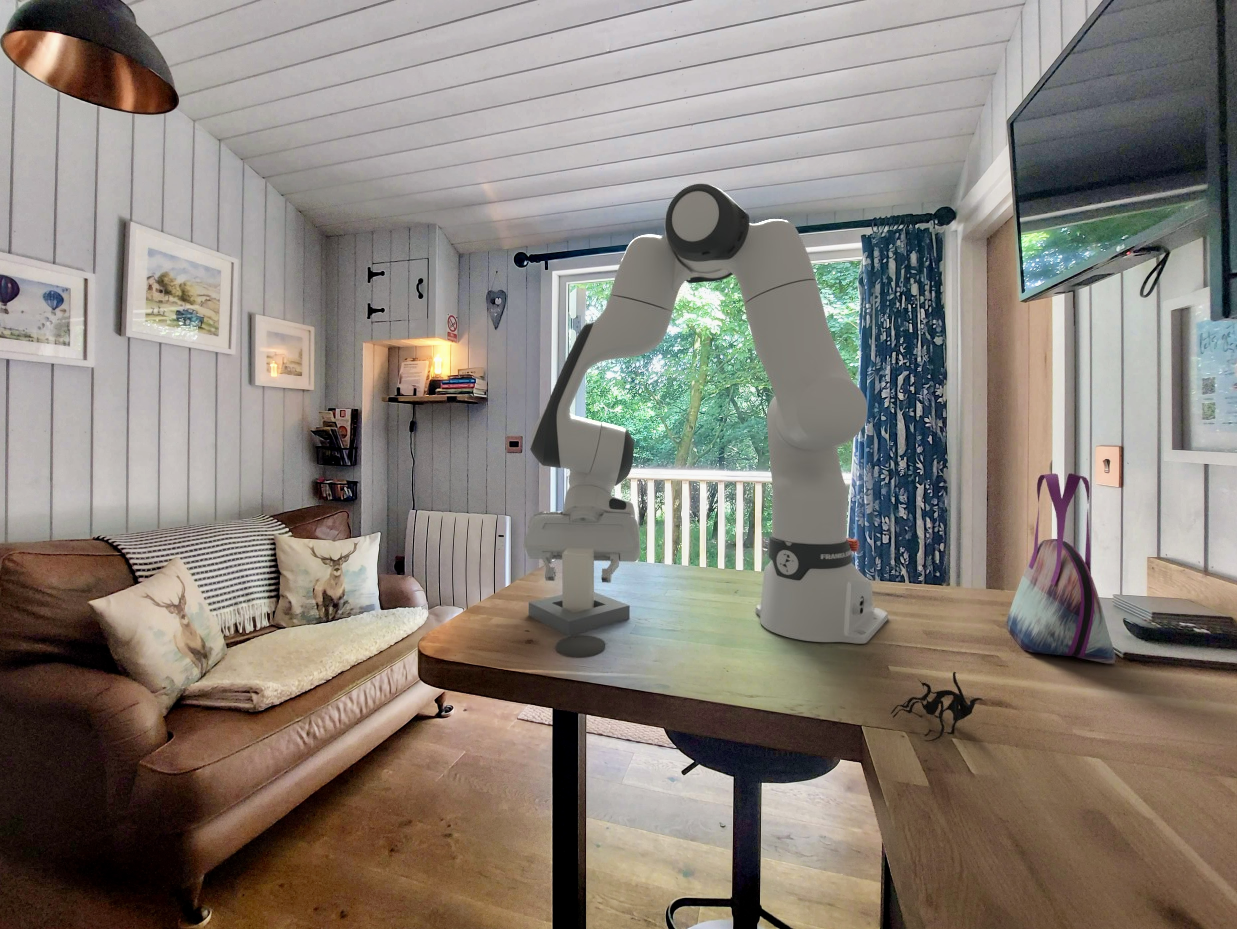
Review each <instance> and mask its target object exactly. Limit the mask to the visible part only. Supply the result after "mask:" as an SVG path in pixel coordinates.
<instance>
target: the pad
mask: <svg viewBox="0 0 1237 929" xmlns="http://www.w3.org/2000/svg"><path fill="white" fill-rule="evenodd" d="M555 644H556V645H555V650H556V652H557V653H559V654H560V655H562V656H564V657H565V656H566V657H570V658H587V657H593V656H596V655H599V654H601V653H602V652H604V651H605V649H606V642H605V641H604V640H603V639H602V638H600V637H596V636H593V635H584V634H583V635H571V636H567V637H565V638H562V639H560V640H558V642H557V643H555Z"/></svg>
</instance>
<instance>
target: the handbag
mask: <svg viewBox="0 0 1237 929" xmlns="http://www.w3.org/2000/svg"><path fill="white" fill-rule="evenodd" d="M1044 480H1045V482H1046V486H1047V489H1048V493H1049V496H1050V499H1051V502H1052V504H1053V509H1054V511H1055V518H1056V538H1050V539H1044V540H1042V541H1040V542H1039V526H1040V524H1039V518H1040V506H1038V510H1037V518H1036V527H1035V534H1034V540H1033V541H1034V543H1033V545H1034V546H1033V552H1032V554H1031V556H1030V558H1029V560H1028V563H1027V564H1026V567H1025V569H1024V572H1023V574H1022V577H1021V579H1020V582H1019V585H1018V587H1017V589H1016V592H1015V594H1014V598H1013V601H1012V603H1011V606H1010V610H1009V612H1008V616H1007V618H1006V629H1007V631H1008V633H1009V635H1011V636H1012V638H1013V639H1014V640H1015V641H1016V642H1017V644H1018V645H1019V647H1020V648H1022V650H1023V651H1028V652H1030V653H1035V654H1045V655H1055V656H1056V655H1057V656H1058V655H1059V656H1066V657H1067V656H1068V657H1075V658H1078V659H1082V660H1083V659H1084V660H1089V661H1094V662H1099V663H1103V664H1115V663H1116V662H1115V661H1116V653H1115V649H1114V646H1113V643H1112V638H1111V636H1110V633H1109V629H1108V625H1107V622H1106V618H1105V615H1104V610H1103V606H1102V605H1101V604H1102V603H1101V601H1100V600H1101V599H1100V597H1099V594H1098V590H1097V588H1096V584H1095V582H1094V579H1093V576H1092V573H1091V543H1090V542H1091V541H1090V540H1091V539H1090V522H1089V521H1090V520H1089V509H1087V510H1086V511H1087V512H1086V534H1085V536H1086V537H1085V551H1084V552H1085V553H1084V558H1083V557H1082V555H1081V554H1080V553H1079V551H1078V550H1077V549H1076V548H1075V547H1074V546H1073V545H1072V544H1071V543H1069V542H1068V541H1065V540H1064V538H1065V529H1066V528H1065V526H1066V519H1067V512H1068V507H1069V506H1070V503H1071V501H1072V499H1073V497H1074V495H1075V493H1076V491H1077V488H1078V487H1079V483H1080V480H1082V481H1081V482H1082V483H1083V485H1084V488H1085V492H1086V500H1087V503H1090V502H1089V500H1090V483H1089V480H1088V478H1087V477H1086V476H1083V475H1079V474H1074V473H1068V474H1067V478H1066V481H1065V486H1064V490H1063V492H1062V491H1061V486H1060V480H1059V475H1058V473H1045V474H1041V475H1039V477H1038V478H1037V483H1036V495H1037V501H1038V504H1040V495H1041V491H1042V490H1041V489H1042V487H1043V481H1044ZM1061 492H1062V494H1061Z"/></svg>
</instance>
